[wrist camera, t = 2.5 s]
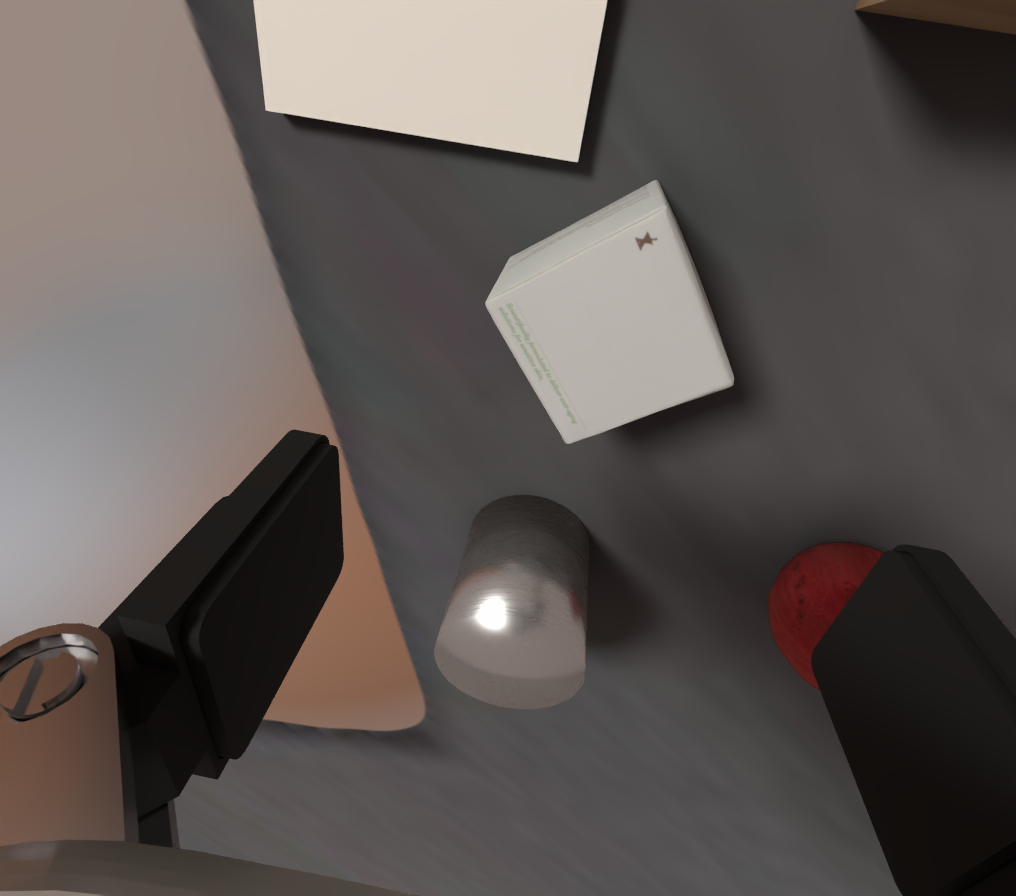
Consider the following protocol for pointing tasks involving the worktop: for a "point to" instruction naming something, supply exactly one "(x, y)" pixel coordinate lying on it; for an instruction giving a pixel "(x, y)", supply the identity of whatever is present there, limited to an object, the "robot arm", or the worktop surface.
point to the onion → (815, 597)
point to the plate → (437, 67)
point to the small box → (611, 318)
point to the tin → (518, 606)
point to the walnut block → (950, 12)
